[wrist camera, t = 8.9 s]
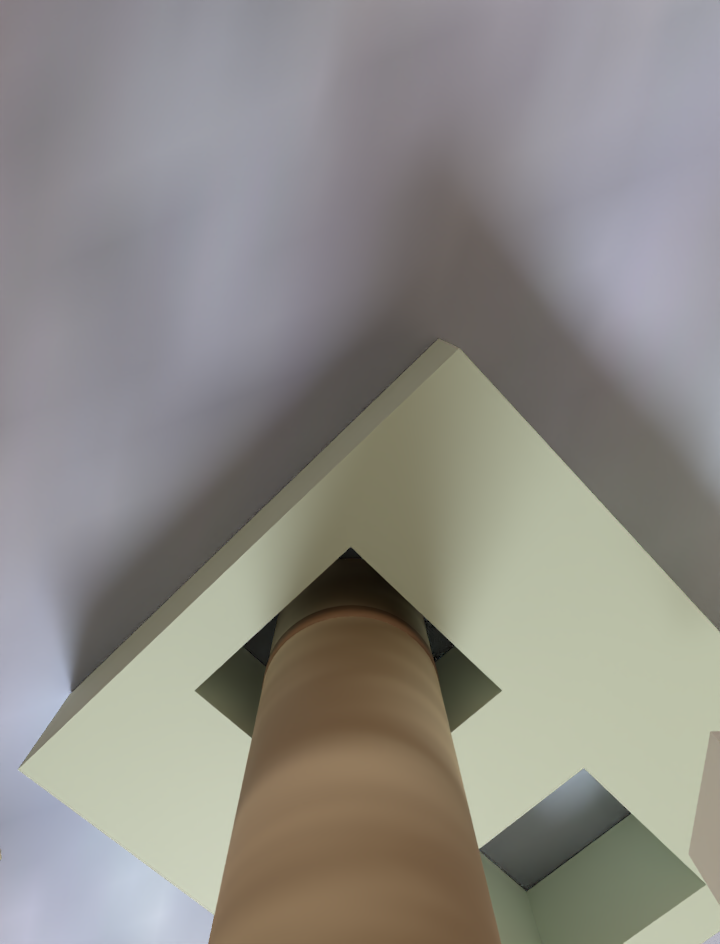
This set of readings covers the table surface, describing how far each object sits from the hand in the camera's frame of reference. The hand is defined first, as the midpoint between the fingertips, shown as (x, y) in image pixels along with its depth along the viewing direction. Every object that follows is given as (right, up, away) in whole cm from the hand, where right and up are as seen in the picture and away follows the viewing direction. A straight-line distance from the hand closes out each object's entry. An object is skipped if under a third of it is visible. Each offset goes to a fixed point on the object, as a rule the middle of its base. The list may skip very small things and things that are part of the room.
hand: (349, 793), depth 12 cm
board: (+3, -1, +7) cm, 7 cm away
